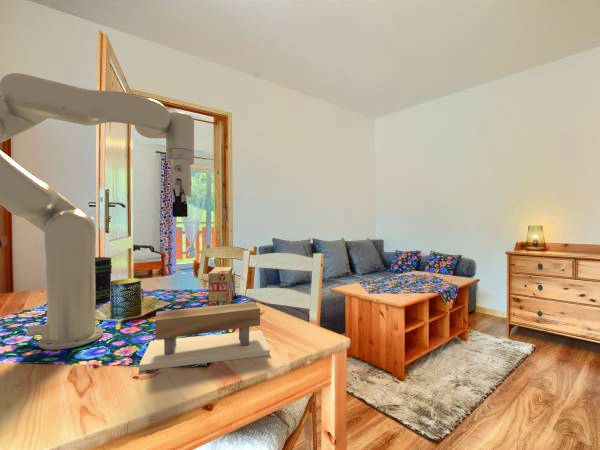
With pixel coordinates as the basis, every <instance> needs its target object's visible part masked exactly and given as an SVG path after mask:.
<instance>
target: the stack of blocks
mask: <svg viewBox="0 0 600 450" xmlns="http://www.w3.org/2000/svg"><path fill="white" fill-rule="evenodd" d="M207 279H208V286H207V287H208V288H207V289H208V291H207V292H208V301H207V302H208V304H207V305H208V306H218V305H228V304H232V300H233V298H234V297H235V295H236V270H233V267H232V266H215V267H214V268H213V269H212V270H211V271H210V272H208V278H207ZM208 306H207V307H208Z"/></svg>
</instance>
